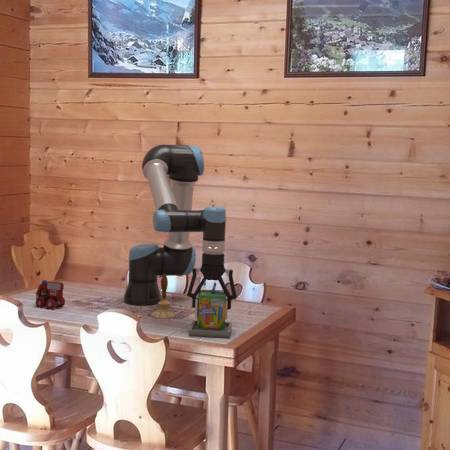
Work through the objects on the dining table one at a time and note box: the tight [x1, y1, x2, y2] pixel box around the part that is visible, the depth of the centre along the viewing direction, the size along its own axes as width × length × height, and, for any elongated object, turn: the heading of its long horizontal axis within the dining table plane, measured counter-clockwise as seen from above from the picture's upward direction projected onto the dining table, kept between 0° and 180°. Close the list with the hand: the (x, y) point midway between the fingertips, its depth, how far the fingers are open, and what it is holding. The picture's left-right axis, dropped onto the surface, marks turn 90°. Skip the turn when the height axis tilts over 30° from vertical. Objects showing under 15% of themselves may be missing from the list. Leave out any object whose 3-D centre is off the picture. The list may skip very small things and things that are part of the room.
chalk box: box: [196, 281, 227, 329], centre depth 232 cm, size 9×9×15 cm
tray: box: [188, 320, 233, 339], centre depth 233 cm, size 14×14×2 cm
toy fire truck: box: [35, 279, 66, 310], centre depth 263 cm, size 7×12×10 cm, turn 64°
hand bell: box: [152, 274, 175, 320], centre depth 253 cm, size 8×8×16 cm
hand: (211, 317), depth 233 cm, fingers closed on chalk box, 9 cm apart
